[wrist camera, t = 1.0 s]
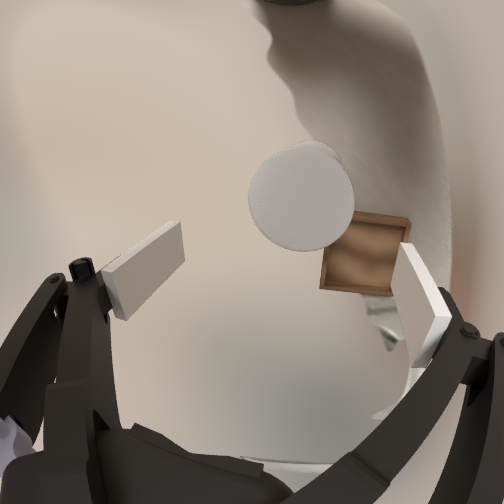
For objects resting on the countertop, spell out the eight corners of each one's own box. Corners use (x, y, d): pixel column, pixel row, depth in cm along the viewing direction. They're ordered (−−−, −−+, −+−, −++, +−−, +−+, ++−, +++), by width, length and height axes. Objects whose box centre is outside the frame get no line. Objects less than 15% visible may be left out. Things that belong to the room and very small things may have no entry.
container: (348, 195, 42) (361, 244, 25) (289, 205, 46) (263, 259, 28) (335, 135, 39) (342, 138, 21) (274, 148, 42) (234, 162, 25)
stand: (328, 208, 44) (328, 212, 42) (407, 218, 41) (411, 223, 38) (320, 281, 50) (319, 288, 48) (391, 289, 47) (393, 296, 45)
